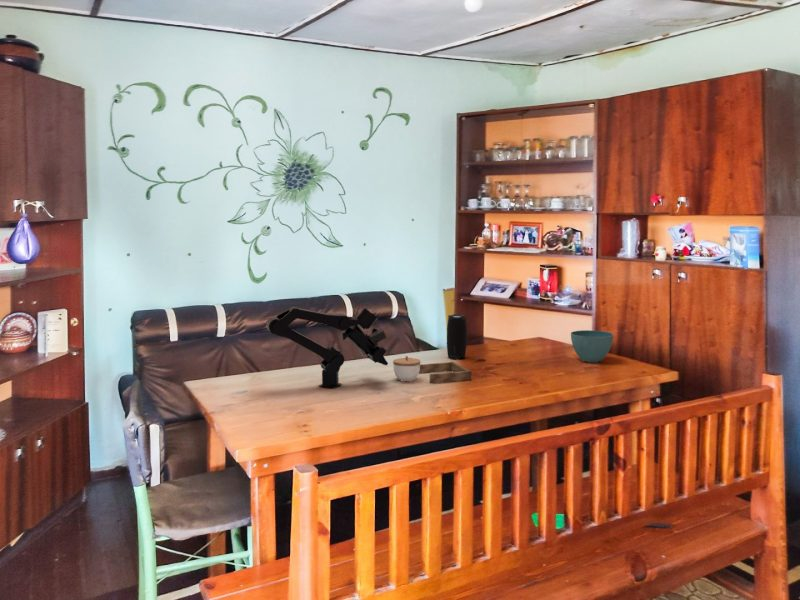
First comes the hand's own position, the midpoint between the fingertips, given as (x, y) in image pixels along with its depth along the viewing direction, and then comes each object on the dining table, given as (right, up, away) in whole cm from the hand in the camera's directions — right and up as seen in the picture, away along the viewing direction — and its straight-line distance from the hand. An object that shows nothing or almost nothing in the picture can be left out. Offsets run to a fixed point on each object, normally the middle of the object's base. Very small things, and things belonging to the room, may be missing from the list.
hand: (387, 364), depth 280 cm
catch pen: (+21, -6, +8) cm, 24 cm away
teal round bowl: (+90, -2, +39) cm, 98 cm away
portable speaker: (+31, -1, +44) cm, 54 cm away
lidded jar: (+8, -7, +4) cm, 11 cm away
